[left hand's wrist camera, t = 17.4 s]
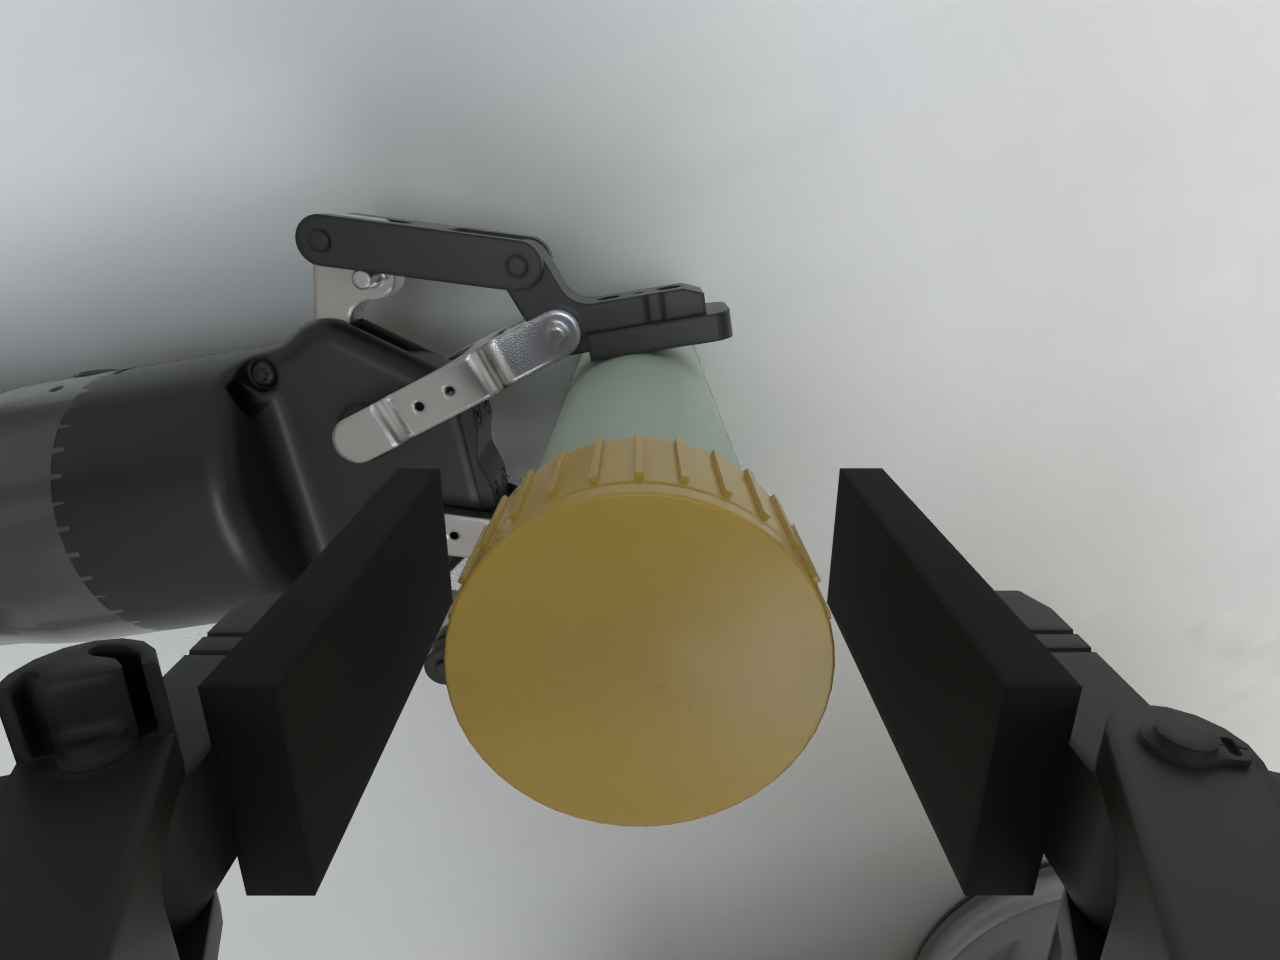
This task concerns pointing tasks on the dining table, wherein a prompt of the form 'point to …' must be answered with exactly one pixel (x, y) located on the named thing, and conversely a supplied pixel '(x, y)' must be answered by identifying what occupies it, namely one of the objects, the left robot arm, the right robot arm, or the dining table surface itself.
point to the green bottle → (640, 403)
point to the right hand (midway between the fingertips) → (735, 408)
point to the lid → (639, 635)
